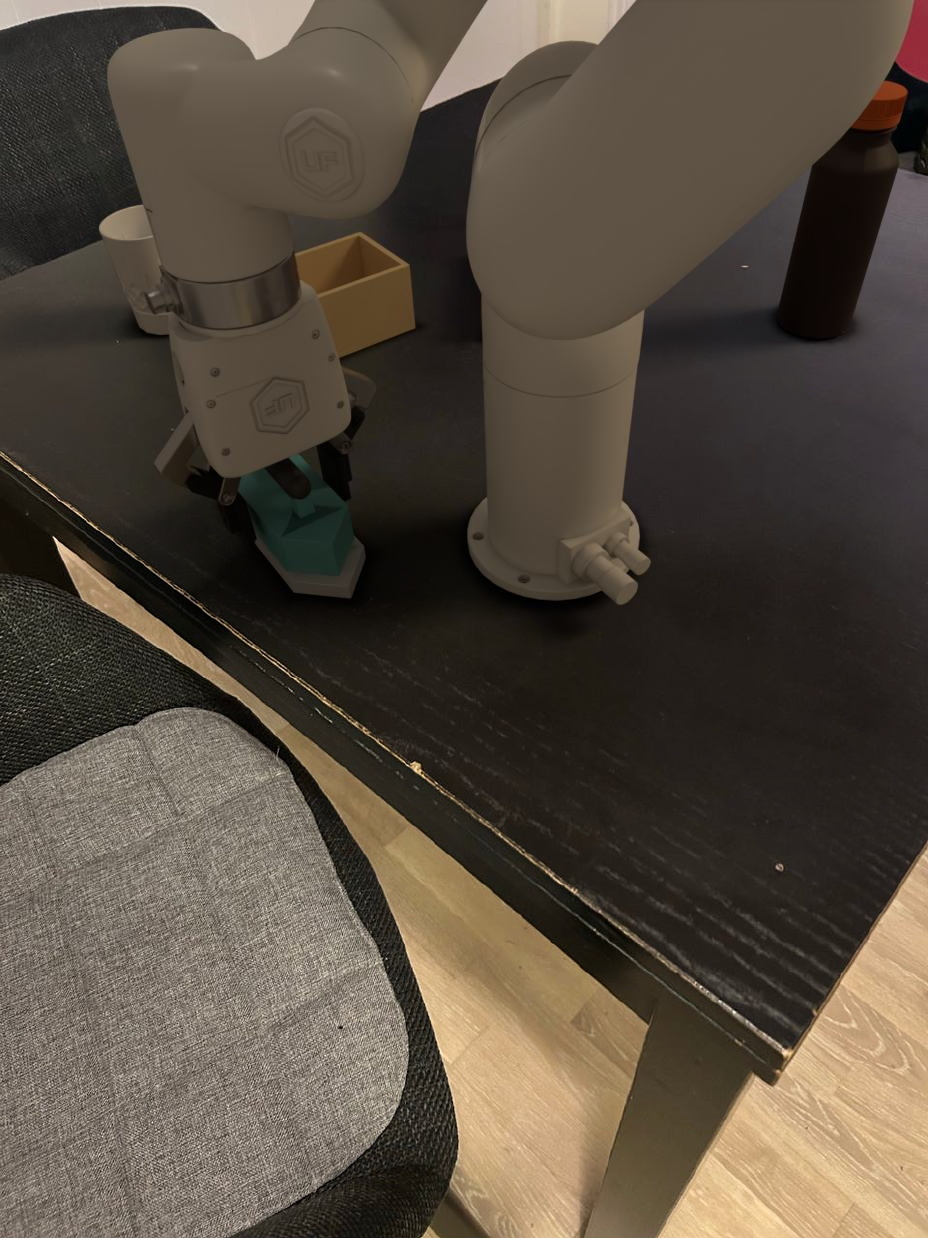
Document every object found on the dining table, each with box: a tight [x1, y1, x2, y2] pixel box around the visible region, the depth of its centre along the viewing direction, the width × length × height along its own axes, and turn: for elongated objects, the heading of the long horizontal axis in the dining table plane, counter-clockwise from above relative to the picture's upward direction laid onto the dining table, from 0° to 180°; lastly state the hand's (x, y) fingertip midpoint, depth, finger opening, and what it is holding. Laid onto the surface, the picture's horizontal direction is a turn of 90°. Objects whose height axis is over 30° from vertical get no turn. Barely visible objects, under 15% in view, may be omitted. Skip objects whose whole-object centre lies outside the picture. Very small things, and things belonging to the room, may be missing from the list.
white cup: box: [98, 204, 171, 336], centre depth 86 cm, size 8×8×10 cm
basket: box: [295, 231, 416, 359], centre depth 85 cm, size 9×13×6 cm
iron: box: [238, 453, 367, 599], centre depth 64 cm, size 15×6×8 cm, turn 35°
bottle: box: [776, 80, 909, 340], centre depth 77 cm, size 7×7×20 cm
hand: (291, 510), depth 65 cm, fingers open, 7 cm apart
